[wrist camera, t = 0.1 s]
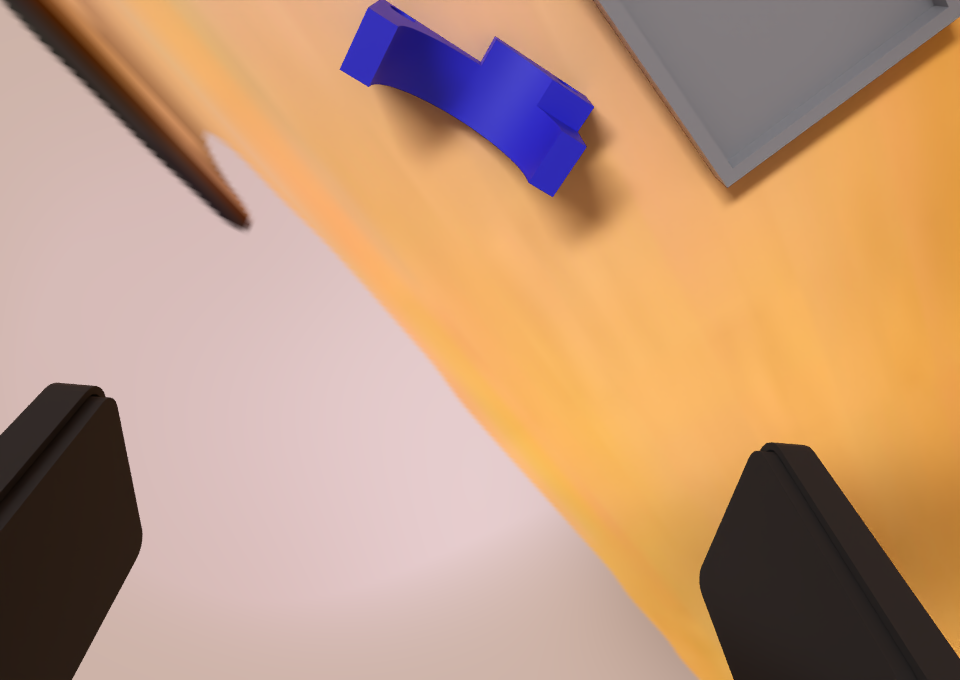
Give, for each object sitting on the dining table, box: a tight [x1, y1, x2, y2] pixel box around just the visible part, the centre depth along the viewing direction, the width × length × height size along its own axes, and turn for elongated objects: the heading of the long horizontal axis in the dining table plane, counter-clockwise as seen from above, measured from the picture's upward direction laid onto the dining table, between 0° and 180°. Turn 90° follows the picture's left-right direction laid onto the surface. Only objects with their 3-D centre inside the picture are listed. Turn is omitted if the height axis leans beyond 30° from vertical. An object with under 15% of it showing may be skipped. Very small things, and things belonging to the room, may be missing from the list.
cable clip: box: [340, 0, 594, 197], centre depth 34 cm, size 12×4×6 cm, turn 59°
